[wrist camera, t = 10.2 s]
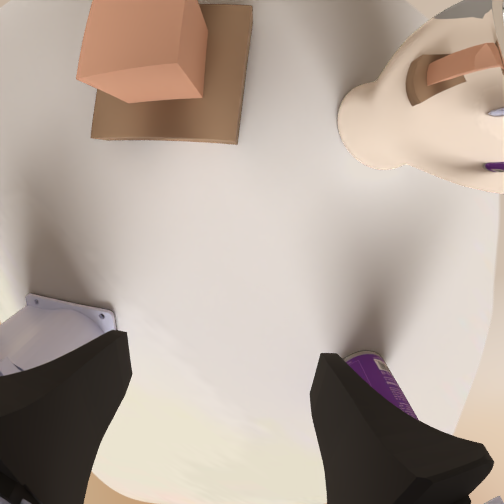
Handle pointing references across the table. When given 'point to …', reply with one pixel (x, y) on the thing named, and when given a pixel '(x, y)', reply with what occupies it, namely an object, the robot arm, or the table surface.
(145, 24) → the terracotta block
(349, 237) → the table surface
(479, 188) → the beer glass
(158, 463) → the table surface
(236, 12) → the walnut base
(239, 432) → the table surface
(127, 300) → the table surface
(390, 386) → the container
